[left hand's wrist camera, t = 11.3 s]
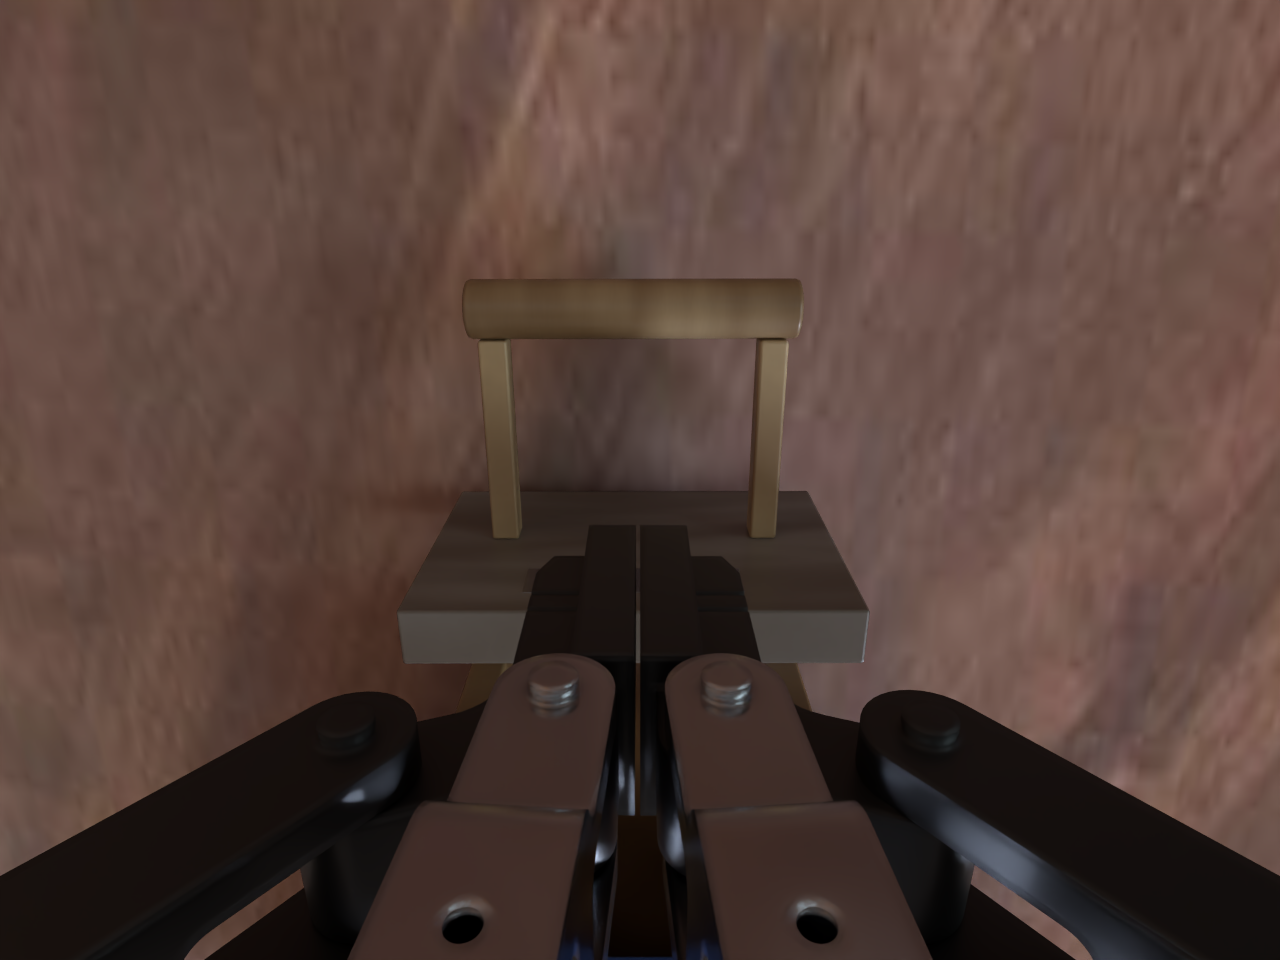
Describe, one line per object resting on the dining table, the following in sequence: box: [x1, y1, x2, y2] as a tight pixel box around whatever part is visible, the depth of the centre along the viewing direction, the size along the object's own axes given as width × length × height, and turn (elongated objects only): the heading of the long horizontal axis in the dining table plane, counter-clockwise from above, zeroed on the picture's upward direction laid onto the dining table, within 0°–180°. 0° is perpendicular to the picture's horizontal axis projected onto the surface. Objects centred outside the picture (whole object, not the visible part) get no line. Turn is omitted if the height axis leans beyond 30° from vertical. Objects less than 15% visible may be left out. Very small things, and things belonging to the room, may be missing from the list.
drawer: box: [397, 279, 870, 957], centre depth 20 cm, size 23×9×6 cm, turn 0°
